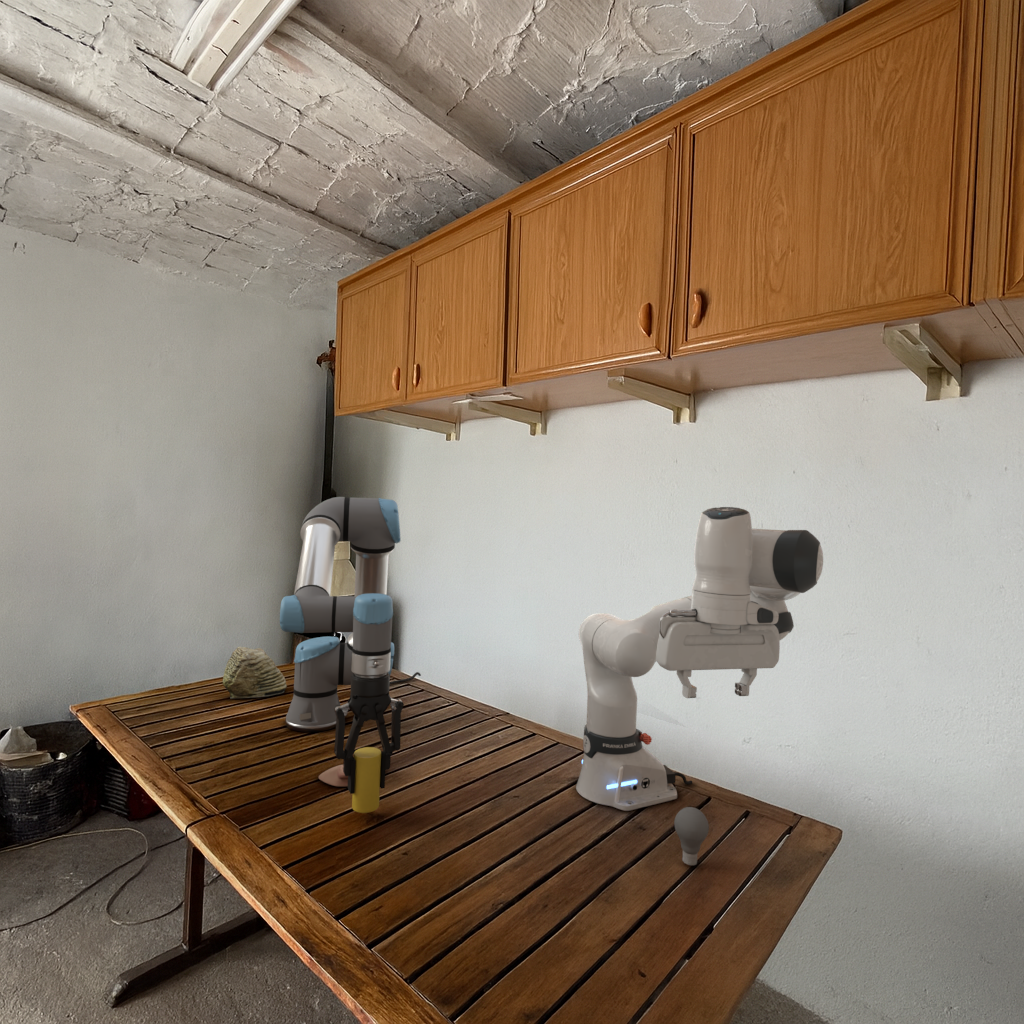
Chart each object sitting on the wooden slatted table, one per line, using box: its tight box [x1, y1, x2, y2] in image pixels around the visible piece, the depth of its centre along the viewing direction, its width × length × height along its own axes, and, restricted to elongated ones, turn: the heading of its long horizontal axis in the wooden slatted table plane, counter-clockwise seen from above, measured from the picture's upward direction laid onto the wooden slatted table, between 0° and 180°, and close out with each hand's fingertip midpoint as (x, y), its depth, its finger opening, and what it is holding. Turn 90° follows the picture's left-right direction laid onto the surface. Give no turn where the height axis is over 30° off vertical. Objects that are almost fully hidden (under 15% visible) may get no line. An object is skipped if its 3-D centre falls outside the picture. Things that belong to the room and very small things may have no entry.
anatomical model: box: [318, 764, 348, 787], centre depth 144 cm, size 13×4×12 cm
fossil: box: [222, 646, 288, 699], centre depth 198 cm, size 9×18×15 cm, turn 132°
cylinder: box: [351, 746, 382, 814], centre depth 126 cm, size 5×5×11 cm
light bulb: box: [673, 806, 710, 866], centre depth 114 cm, size 6×6×10 cm
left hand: (366, 787), depth 126 cm, fingers closed on cylinder, 5 cm apart
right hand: (715, 696), depth 101 cm, fingers open, 8 cm apart
